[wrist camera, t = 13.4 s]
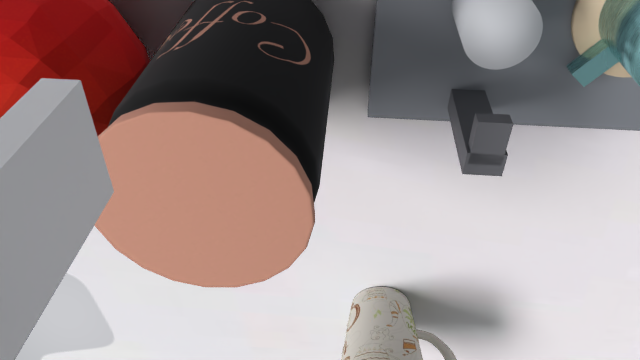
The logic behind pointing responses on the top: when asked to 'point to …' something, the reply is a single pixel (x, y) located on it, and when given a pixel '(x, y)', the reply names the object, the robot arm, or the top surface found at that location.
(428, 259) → the top surface
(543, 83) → the grey tray with posts
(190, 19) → the coffee jar
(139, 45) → the tomato
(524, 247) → the top surface
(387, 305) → the mug
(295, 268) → the top surface
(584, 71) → the teal rounded piece
